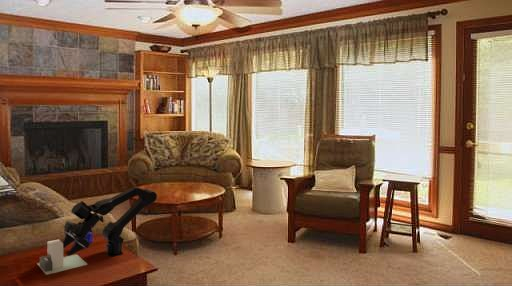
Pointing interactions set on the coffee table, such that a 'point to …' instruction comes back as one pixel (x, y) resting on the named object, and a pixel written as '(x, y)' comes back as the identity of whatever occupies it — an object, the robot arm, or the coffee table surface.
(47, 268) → the board
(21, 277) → the coffee table surface
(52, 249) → the plug housing
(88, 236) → the cable clip
